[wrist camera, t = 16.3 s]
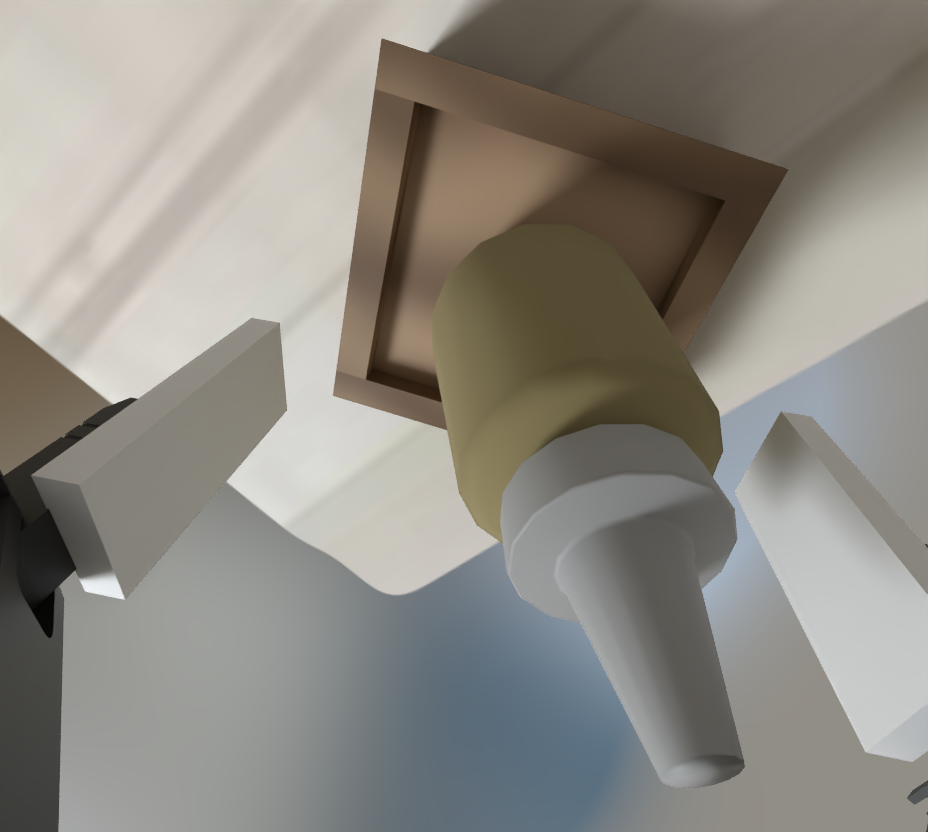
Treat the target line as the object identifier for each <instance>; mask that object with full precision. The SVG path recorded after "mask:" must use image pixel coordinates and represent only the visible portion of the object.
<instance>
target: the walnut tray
mask: <svg viewBox="0 0 928 832" xmlns="http://www.w3.org/2000/svg"><path fill="white" fill-rule="evenodd" d="M787 171H788V169H786V168H783V167H780V166H776V165H773V164H770V163H767V162H764V161H761V160H758V159H755V158H752V157H748V156H745V155H742V154H739V153H736V152H733V151H730V150H727V149H724V148H721V147H717V146H714V145H711V144H708V143H705V142H702V141H699V140H696V139H693V138H689V137H686V136H683V135H680V134H677V133H674V132H671V131H668V130H665V129H662V128H658V127H655V126H652V125H649V124H646V123H643V122H640V121H637V120H634V119H631V118H627V117H624V116H621V115H618V114H615V113H612V112H609V111H606V110H603V109H599V108H596V107H593V106H590V105H587V104H584V103H581V102H578V101H575V100H572V99H568V98H565V97H562V96H559V95H556V94H553V93H550V92H547V91H544V90H540V89H537V88H534V87H531V86H528V85H525V84H522V83H519V82H516V81H513V80H509V79H506V78H503V77H500V76H497V75H494V74H491V73H488V72H485V71H482V70H478V69H475V68H472V67H469V66H466V65H463V64H460V63H457V62H454V61H450V60H447V59H444V58H441V57H438V56H435V55H432V54H429V53H426V52H423V51H419V50H416V49H413V48H410V47H407V46H404V45H401V44H398V43H395V42H391V41H388V40H385V39H382V40H381V47H380V54H379V62H378V69H377V76H376V84H375V91H374V99H373V106H372V113H371V121H370V128H369V135H368V143H367V150H366V157H365V165H364V172H363V179H362V187H361V194H360V201H359V209H358V216H357V223H356V231H355V238H354V245H353V253H352V260H351V267H350V275H349V282H348V290H347V297H346V304H345V312H344V319H343V326H342V334H341V341H340V348H339V356H338V363H337V370H336V378H335V385H334V392H333V396H336V397H339V398H342V399H346V400H349V401H352V402H356V403H359V404H362V405H366V406H369V407H372V408H376V409H379V410H382V411H385V412H389V413H392V414H395V415H399V416H402V417H405V418H409V419H412V420H415V421H419V422H422V423H425V424H429V425H432V426H435V427H439V428H442V429H445V430H447V425H446V420H445V415H444V410H443V404H442V399H441V394H440V388H439V383H438V378H437V372H436V367H435V362H434V357H433V350H432V311H433V309H434V307H435V304H436V302H437V300H438V297H439V295H440V292H441V290H442V288H443V285H444V283H445V281H446V278H447V276H448V274H449V273H450V272H451V271H452V270H453V269H454V268H455V267H456V266H457V265H458V264H459V263H460V262H461V261H462V260H463V259H464V258H465V257H466V256H467V255H468V254H469V253H470V252H471V251H472V250H473V249H474V248H475V247H476V246H478V245H479V244H480V243H481V242H483V241H485V240H487V239H490V238H492V237H495V236H497V235H500V234H502V233H505V232H507V231H509V230H512V229H514V228H517V227H519V226H522V225H524V224H558V225H573V226H575V227H577V228H579V229H582V230H584V231H586V232H588V233H590V234H592V235H594V236H596V237H598V238H600V239H602V240H605V241H607V242H609V243H611V245H612V246H613V247H614V248H615V250H616V251H617V252H618V254H619V255H620V256H621V258H622V259H623V260H624V261H625V263H626V264H627V265H628V267H629V268H630V269H631V271H632V272H633V273H634V274H635V276H636V277H637V279H638V281H639V282H640V284H641V286H642V287H643V289H644V290H645V292H646V294H647V295H648V297H649V299H650V300H651V302H652V303H653V305H654V307H655V308H656V310H657V312H658V313H659V315H660V316H661V318H662V320H663V321H664V323H665V325H666V326H667V328H668V329H669V331H670V333H671V334H672V336H673V338H674V339H675V341H676V342H677V344H678V346H679V347H680V349H681V350H682V352H684V351H685V349H686V347H687V346H688V344H689V342H690V340H691V339H692V337H693V335H694V333H695V332H696V330H697V328H698V326H699V325H700V323H701V321H702V319H703V318H704V316H705V314H706V312H707V311H708V309H709V307H710V305H711V304H712V302H713V300H714V298H715V297H716V295H717V293H718V291H719V290H720V288H721V286H722V284H723V283H724V281H725V279H726V278H727V276H728V274H729V272H730V271H731V269H732V267H733V265H734V264H735V262H736V260H737V258H738V257H739V255H740V253H741V251H742V250H743V248H744V246H745V244H746V243H747V241H748V239H749V237H750V236H751V234H752V232H753V230H754V229H755V227H756V225H757V223H758V222H759V220H760V218H761V216H762V215H763V213H764V211H765V209H766V208H767V206H768V204H769V203H770V201H771V199H772V197H773V196H774V194H775V192H776V190H777V189H778V187H779V185H780V183H781V182H782V180H783V178H784V176H785V175H786V173H787Z"/></svg>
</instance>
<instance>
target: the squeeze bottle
mask: <svg viewBox="0 0 928 832" xmlns="http://www.w3.org/2000/svg"><path fill="white" fill-rule="evenodd" d="M432 350H433V357H434V362H435V367H436V372H437V378H438V383H439V388H440V394H441V399H442V404H443V410H444V415H445V420H446V425H447V431H448V436H449V441H450V447H451V452H452V457H453V462H454V468H455V473H456V478H457V484H458V489H459V494H460V495H461V497H462V499H463V501H464V503H465V504H466V506H467V508H468V510H469V512H470V513H471V515H472V517H473V519H474V521H475V523H476V524H477V526H479V527H480V528H482V529H483V530H484V531H486V532H487V533H489V534H490V535H492V536H493V537H494V538H496V539H497V540H499V541H500V542H501V543H503V547H504V555H505V561H506V569H507V574H508V575H509V577H510V579H511V581H512V583H513V585H514V587H515V588H516V590H517V592H518V594H519V596H520V597H521V598H523V599H524V600H526V601H527V602H529V603H530V604H532V605H533V606H535V607H536V608H538V609H540V610H541V611H543V612H544V613H546V614H547V615H549V616H553V617H557V618H561V619H566V620H570V621H574V622H578V623H581V624H582V627H583V628H584V630H585V632H586V634H587V636H588V638H589V640H590V642H591V644H592V646H593V648H594V650H595V652H596V654H597V656H598V658H599V660H600V662H601V664H602V666H603V668H604V670H605V672H606V673H607V676H608V678H609V679H610V681H611V683H612V685H613V687H614V689H615V691H616V693H617V695H618V697H619V699H620V701H621V703H622V705H623V707H624V709H625V711H626V713H627V715H628V717H629V719H630V721H631V723H632V724H633V727H634V728H635V730H636V732H637V734H638V736H639V738H640V740H641V742H642V744H643V746H644V748H645V750H646V752H647V754H648V756H649V758H650V760H651V762H652V764H653V765H654V768H655V770H656V772H657V774H658V776H659V778H660V779H661V781H662V783H664V784H667V785H668V786H670V787H678V788H699V787H704V786H709V785H714V784H717V783H720V782H723V781H726V780H729V779H731V778H732V777H734V776H736V775H738V774H739V773H740V772H741V771H742V769H743V768H744V767H745V765H744V759H743V755H742V751H741V747H740V743H739V740H738V735H737V731H736V727H735V723H734V719H733V716H732V712H731V707H730V703H729V699H728V695H727V691H726V687H725V683H724V679H723V675H722V671H721V667H720V663H719V659H718V655H717V651H716V647H715V642H714V638H713V634H712V630H711V627H710V623H709V618H708V614H707V610H706V606H705V602H704V598H703V594H702V590H701V589H702V588H703V587H704V586H705V585H707V584H708V583H709V582H710V581H711V580H712V579H713V578H714V577H715V576H717V575H718V574H719V573H720V572H721V571H722V569H723V567H724V565H725V563H726V561H727V559H728V557H729V555H730V553H731V551H732V549H733V547H734V545H735V543H736V541H737V530H736V519H735V509H734V508H733V506H732V505H731V503H730V502H729V500H728V499H727V497H726V496H725V494H724V493H723V492H722V490H721V489H720V487H719V486H718V484H717V483H716V481H715V480H714V478H713V475H714V472H715V470H716V467H717V464H718V462H719V460H720V457H721V455H722V452H723V445H722V437H721V427H720V417H719V411H718V409H717V407H716V406H715V404H714V402H713V401H712V399H711V398H710V396H709V394H708V393H707V391H706V389H705V388H704V386H703V385H702V383H701V381H700V380H699V378H698V376H697V375H696V373H695V372H694V370H693V368H692V367H691V365H690V363H689V362H688V360H687V359H686V357H685V355H684V354H683V352H682V350H681V349H680V347H679V346H678V344H677V342H676V341H675V339H674V338H673V336H672V334H671V333H670V331H669V329H668V328H667V326H666V325H665V323H664V321H663V320H662V318H661V316H660V315H659V313H658V312H657V310H656V308H655V307H654V305H653V303H652V302H651V300H650V299H649V297H648V295H647V294H646V292H645V290H644V289H643V287H642V286H641V284H640V282H639V281H638V279H637V277H636V276H635V274H634V273H633V272H632V271H631V269H630V268H629V267H628V265H627V264H626V263H625V261H624V260H623V259H622V258H621V256H620V255H619V254H618V252H617V251H616V250H615V248H614V247H613V246H612V245H611V243H609V242H607V241H605V240H602V239H600V238H598V237H596V236H594V235H592V234H590V233H588V232H586V231H584V230H582V229H579V228H577V227H575V226H573V225H558V224H524V225H522V226H519V227H517V228H514V229H512V230H509V231H507V232H505V233H502V234H500V235H497V236H495V237H492V238H490V239H487V240H485V241H483V242H481V243H480V244H479V245H478V246H476V247H475V248H474V249H473V250H472V251H471V252H470V253H469V254H468V255H467V256H466V257H465V258H464V259H463V260H462V261H461V262H460V263H459V264H458V265H457V266H456V267H455V268H454V269H453V270H452V271H451V272H450V273H449V274H448V276H447V278H446V281H445V283H444V285H443V288H442V290H441V292H440V295H439V297H438V300H437V302H436V304H435V307H434V309H433V311H432Z"/></svg>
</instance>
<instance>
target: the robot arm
mask: <svg viewBox="0 0 928 832" xmlns="http://www.w3.org/2000/svg"><path fill="white" fill-rule="evenodd" d="M286 411H287V405H286V393H285V381H284V369H283V357H282V346H281V334H280V323H277V322H272V321H266V320H260V319H255V318H251V319H250V320H248V321H247V322H245V323H244V324H243V325H241V326H240V327H238V328H237V329H236V330H234V331H233V332H231V333H230V334H229V335H227V336H226V337H224V338H223V339H222V340H220V341H219V342H217V343H216V344H215V345H213V346H212V347H210V348H209V349H208V350H206V351H205V352H203V353H202V354H201V355H199V356H198V357H196V358H195V359H194V360H192V361H191V362H189V363H188V364H186V365H185V366H184V367H182V368H181V369H179V370H178V371H177V372H175V373H174V374H172V375H171V376H170V377H168V378H167V379H165V380H164V381H163V382H161V383H160V384H158V385H157V386H156V387H154V388H153V389H151V390H150V391H149V392H147V393H146V394H144V395H143V396H142V397H140V398H139V399H135V398H129V399H126V400H123V401H121V402H118V403H116V404H113V405H111V406H108V407H105V408H103V409H102V410H100V411H99V412H97V413H96V414H94V415H93V416H92V417H90V418H89V419H87V420H86V421H84V422H83V425H82V426H80V425H78V426H77V427H75V428H74V429H72V430H71V431H69V432H68V433H67V434H66V436H65V437H64V438H62V437H60V438H59V439H58V440H56V441H55V442H53V443H52V444H50V445H49V446H47V447H46V448H44V449H43V450H41V451H40V452H39V453H37V454H35V455H34V456H33V457H31V458H30V459H28V460H27V461H25V462H24V463H22V464H21V465H19V466H18V467H16V468H15V469H13V470H12V471H11V472H9V473H8V474H6V475H4V476H3V475H2V473H1V471H0V832H58V823H59V821H58V820H59V782H60V781H59V780H60V741H61V699H62V658H63V618H64V617H63V616H64V597H63V594H62V591H61V589H60V587H59V585H60V584H61V583H62V582H63V581H64V580H65V579H66V578H67V577H68V576H70V575H71V574H72V572H74V571H76V573H77V575H78V577H79V579H80V581H81V584H82V586H83V588H84V590H85V592H90V593H95V594H100V595H105V596H110V597H114V598H119V599H124V600H125V599H126V598H127V597H128V596H129V595H130V593H131V592H132V591H133V590H134V589H135V588H136V587H137V585H138V584H139V583H140V582H141V581H142V580H143V578H144V577H145V576H146V575H147V574H148V572H149V571H150V570H151V569H152V568H153V567H154V565H155V564H156V563H157V562H158V561H159V560H160V558H161V557H162V556H163V555H164V554H165V553H166V551H167V550H168V549H169V548H170V547H171V545H172V544H173V543H174V542H175V541H176V540H177V538H178V537H179V536H180V535H181V534H182V533H183V531H184V530H185V529H186V528H187V527H188V526H189V524H190V523H191V522H192V521H193V520H194V518H195V517H196V516H197V515H198V514H199V513H200V511H201V510H202V509H203V508H204V507H205V505H206V504H207V503H208V502H209V501H210V500H211V499H212V497H213V496H214V495H215V494H216V493H217V492H218V490H219V489H220V488H221V487H222V485H224V483H225V482H226V481H227V480H228V479H229V478H230V476H231V475H232V474H233V473H234V472H235V470H236V469H237V468H238V467H239V466H240V465H241V463H242V462H243V461H244V460H245V459H246V458H247V456H248V455H249V454H250V453H251V452H252V451H253V449H254V448H255V447H256V446H257V445H258V444H259V442H260V441H261V440H262V439H263V438H264V436H265V435H266V434H267V433H268V432H269V431H270V429H271V428H272V427H273V426H274V425H275V424H276V422H277V421H278V420H279V419H280V418H281V417H282V415H283V414H284V413H285V412H286ZM735 495H736V497H737V499H738V500H739V503H740V505H741V507H742V509H743V511H744V513H745V515H746V517H747V518H748V521H749V523H750V525H751V526H752V528H753V530H754V532H755V534H756V536H757V538H758V540H759V542H760V544H761V546H762V548H763V550H764V552H765V554H766V556H767V558H768V560H769V562H770V564H771V566H772V568H773V570H774V572H775V574H776V576H777V578H778V580H779V582H780V584H781V586H782V588H783V590H784V592H785V593H786V596H787V598H788V600H789V602H790V604H791V606H792V607H793V610H794V612H795V614H796V615H797V617H798V619H799V621H800V623H801V625H802V627H803V629H804V631H805V633H806V635H807V637H808V639H809V641H810V643H811V645H812V647H813V649H814V651H815V653H816V655H817V657H818V659H819V661H820V663H821V665H822V667H823V669H824V671H825V673H826V675H827V677H828V678H829V681H830V683H831V685H832V687H833V689H834V691H835V692H836V695H837V697H838V699H839V700H840V703H841V705H842V706H843V708H844V710H845V712H846V714H847V716H848V718H849V720H850V722H851V724H852V726H853V728H854V730H855V732H856V734H857V736H858V738H859V740H860V742H861V744H862V746H863V748H864V750H865V752H867V753H872V754H876V755H881V756H886V757H891V758H897V759H901V760H906V761H910V762H913V761H914V760H915V759H917V758H918V757H920V756H921V755H922V754H924V753H925V752H926V751H928V545H927V544H924V543H923V542H922V541H921V540H920V538H919V537H918V536H917V535H916V534H915V533H914V532H913V531H912V530H911V528H910V527H909V526H908V525H907V524H906V523H905V521H904V520H903V519H902V518H901V517H900V516H899V515H898V514H897V513H896V511H895V510H894V509H893V508H892V507H891V506H890V505H889V504H888V502H887V501H886V500H885V499H884V498H883V497H882V496H881V494H880V493H879V492H878V491H877V490H876V489H875V488H874V486H873V485H872V484H871V483H870V482H869V481H868V480H867V479H866V477H865V476H864V475H863V474H862V473H861V472H860V471H859V470H858V468H857V467H856V466H855V465H854V464H853V463H852V462H851V460H850V459H849V458H848V457H847V456H846V455H845V454H844V453H843V451H842V450H841V449H840V448H839V447H838V446H837V445H836V443H834V441H833V440H832V439H831V438H830V437H829V436H828V435H827V433H826V432H825V431H824V430H823V429H822V428H821V427H820V426H819V424H818V423H817V422H816V421H815V420H814V419H813V418H812V417H810V416H804V415H798V414H792V413H787V412H781V413H780V415H779V416H778V418H777V420H776V421H775V423H774V425H773V427H772V428H771V430H770V432H769V434H768V435H767V437H766V439H765V441H764V442H763V444H762V446H761V448H760V449H759V451H758V453H757V454H756V457H755V458H754V460H753V461H752V463H751V465H750V467H749V468H748V470H747V472H746V474H745V475H744V477H743V479H742V481H741V483H740V484H739V486H738V488H737V489H736V491H735ZM926 797H928V781H926V782H925V783H923V784H922V785H920V786H919V787H917V788H916V789H914V790H913V791H912V792H911V793H910V795H909V796H908V798H907V799H908V800H909V801H911V802H912V803H913V804H916V803H918V802H920V801H921V800H923V799H925V798H926ZM927 815H928V812H927ZM926 832H928V826H927V831H926Z"/></svg>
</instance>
